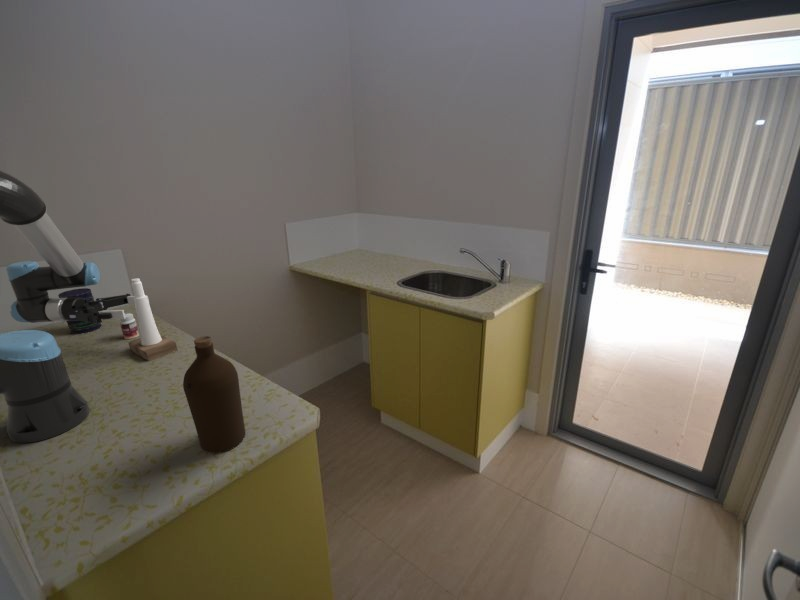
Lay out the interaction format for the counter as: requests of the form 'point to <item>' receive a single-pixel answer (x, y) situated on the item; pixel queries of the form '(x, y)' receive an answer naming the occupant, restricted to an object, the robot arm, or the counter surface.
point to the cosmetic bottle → (144, 316)
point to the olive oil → (214, 399)
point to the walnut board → (153, 348)
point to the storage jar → (80, 326)
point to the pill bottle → (129, 327)
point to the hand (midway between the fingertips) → (136, 306)
